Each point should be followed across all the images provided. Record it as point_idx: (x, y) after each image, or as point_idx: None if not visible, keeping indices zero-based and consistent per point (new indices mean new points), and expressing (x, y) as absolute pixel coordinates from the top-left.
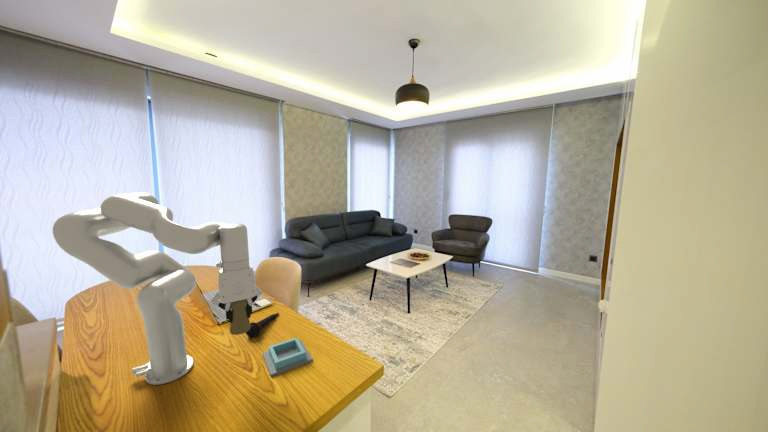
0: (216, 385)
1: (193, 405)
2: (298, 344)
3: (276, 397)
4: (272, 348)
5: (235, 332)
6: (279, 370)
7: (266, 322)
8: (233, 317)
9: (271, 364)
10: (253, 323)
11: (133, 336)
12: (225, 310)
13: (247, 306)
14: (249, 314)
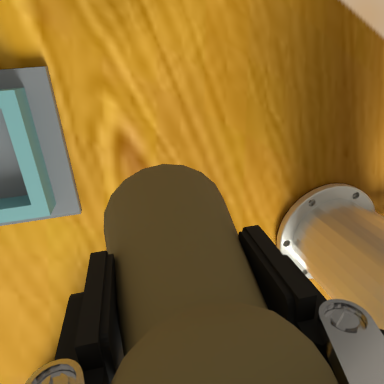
0: (224, 114)
1: (284, 52)
2: None
3: None
4: (32, 196)
5: (199, 178)
6: (7, 75)
7: None
8: (239, 253)
9: (43, 129)
10: None
11: None
12: (355, 307)
13: (106, 356)
14: (95, 270)
